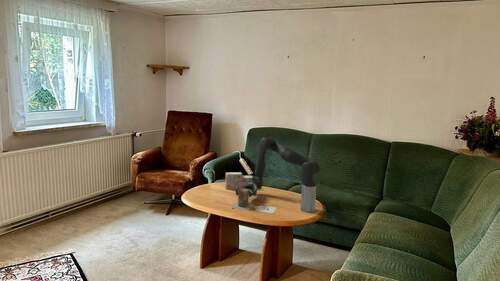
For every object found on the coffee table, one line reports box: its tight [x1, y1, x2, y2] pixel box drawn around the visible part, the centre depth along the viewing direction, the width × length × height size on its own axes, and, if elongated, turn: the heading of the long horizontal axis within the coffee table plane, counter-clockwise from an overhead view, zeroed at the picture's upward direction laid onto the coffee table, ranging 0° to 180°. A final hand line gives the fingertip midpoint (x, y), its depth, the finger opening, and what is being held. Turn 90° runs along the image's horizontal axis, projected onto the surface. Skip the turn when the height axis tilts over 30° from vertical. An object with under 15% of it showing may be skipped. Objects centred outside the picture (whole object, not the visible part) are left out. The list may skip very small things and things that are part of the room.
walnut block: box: [237, 188, 250, 207], centre depth 249 cm, size 6×6×11 cm
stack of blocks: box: [224, 171, 253, 190], centre depth 293 cm, size 21×6×12 cm, turn 103°
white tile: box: [255, 204, 278, 214], centre depth 245 cm, size 12×12×1 cm
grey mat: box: [231, 201, 255, 211], centre depth 250 cm, size 12×12×1 cm
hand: (243, 195), depth 248 cm, fingers open, 8 cm apart
